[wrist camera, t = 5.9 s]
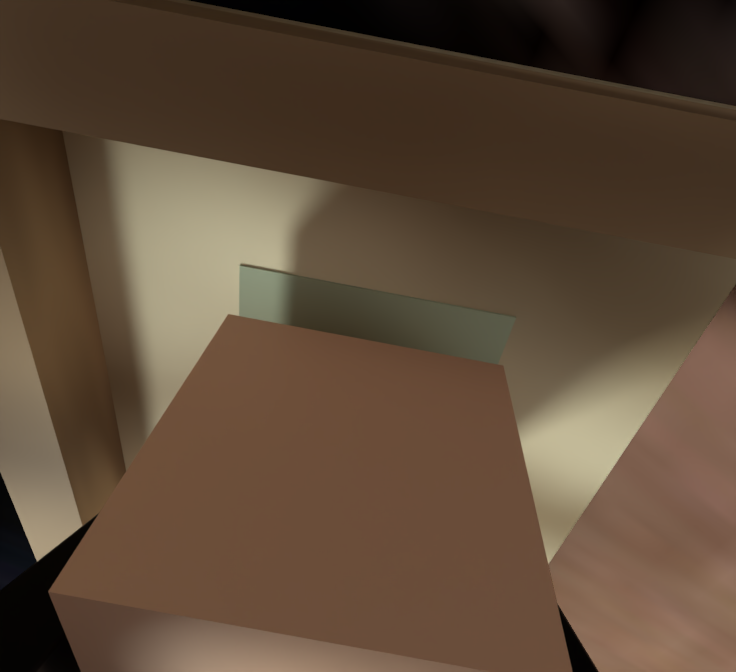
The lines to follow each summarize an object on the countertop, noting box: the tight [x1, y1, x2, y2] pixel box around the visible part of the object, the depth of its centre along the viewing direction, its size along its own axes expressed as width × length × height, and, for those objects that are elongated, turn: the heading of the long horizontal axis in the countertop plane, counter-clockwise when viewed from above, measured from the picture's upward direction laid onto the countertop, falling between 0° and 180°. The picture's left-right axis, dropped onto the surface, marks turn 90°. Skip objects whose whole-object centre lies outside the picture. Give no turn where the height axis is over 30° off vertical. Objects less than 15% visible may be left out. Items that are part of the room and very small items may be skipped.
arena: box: [0, 0, 736, 564], centre depth 12 cm, size 18×14×3 cm
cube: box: [48, 314, 573, 672], centre depth 8 cm, size 5×5×5 cm
